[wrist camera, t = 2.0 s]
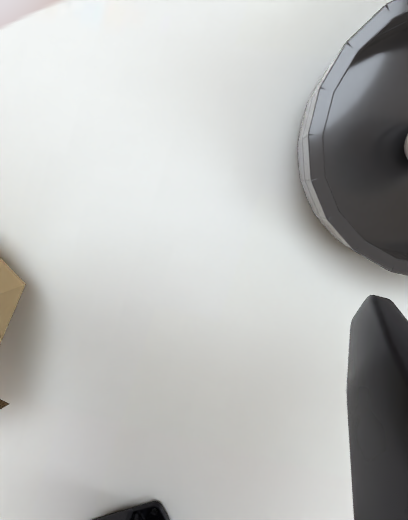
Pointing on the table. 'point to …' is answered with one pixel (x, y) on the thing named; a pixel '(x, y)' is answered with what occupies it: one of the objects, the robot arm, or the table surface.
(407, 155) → the lightbulb
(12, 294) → the low-poly potato
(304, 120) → the pan
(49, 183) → the table surface
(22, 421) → the table surface
